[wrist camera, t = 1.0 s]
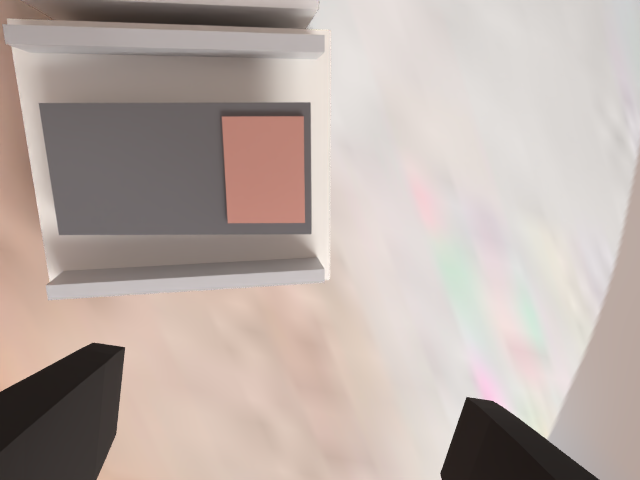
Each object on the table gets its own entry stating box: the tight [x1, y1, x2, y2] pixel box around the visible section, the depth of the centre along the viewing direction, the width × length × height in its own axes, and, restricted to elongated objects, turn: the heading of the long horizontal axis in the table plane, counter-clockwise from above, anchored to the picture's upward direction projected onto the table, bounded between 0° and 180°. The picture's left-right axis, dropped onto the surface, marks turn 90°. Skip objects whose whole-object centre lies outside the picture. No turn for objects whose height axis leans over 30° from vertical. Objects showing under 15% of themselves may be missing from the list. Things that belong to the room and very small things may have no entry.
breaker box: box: [2, 18, 331, 300], centre depth 16 cm, size 10×9×5 cm
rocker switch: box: [39, 102, 312, 235], centre depth 14 cm, size 8×4×1 cm, turn 90°
